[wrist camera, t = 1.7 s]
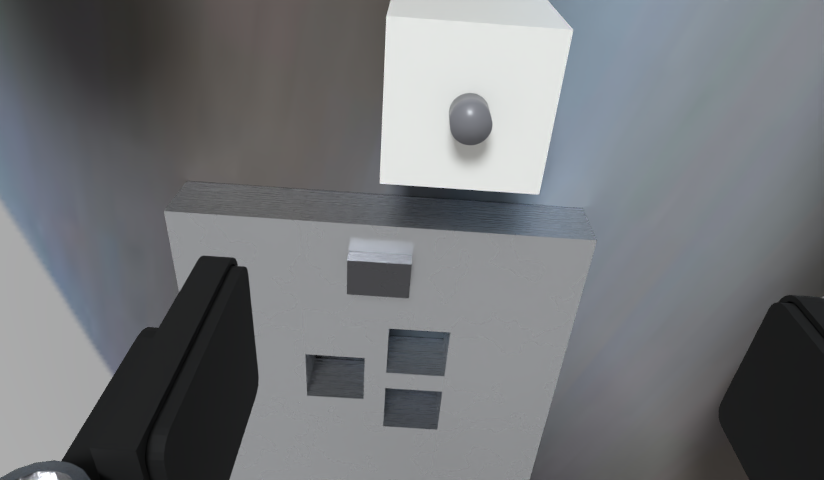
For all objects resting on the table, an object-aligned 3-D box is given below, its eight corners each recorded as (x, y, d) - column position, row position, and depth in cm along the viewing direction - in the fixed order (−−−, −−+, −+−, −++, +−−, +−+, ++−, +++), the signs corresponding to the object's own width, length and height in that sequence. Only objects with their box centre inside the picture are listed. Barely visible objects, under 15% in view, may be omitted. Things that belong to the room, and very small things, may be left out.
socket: (582, 208, 30) (601, 249, 27) (518, 459, 41) (525, 510, 37) (186, 181, 29) (157, 220, 26) (228, 441, 40) (210, 491, 37)
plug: (540, -8, 24) (581, 39, 18) (517, 128, 28) (544, 210, 21) (395, -19, 24) (384, 24, 18) (389, 119, 27) (377, 198, 21)
